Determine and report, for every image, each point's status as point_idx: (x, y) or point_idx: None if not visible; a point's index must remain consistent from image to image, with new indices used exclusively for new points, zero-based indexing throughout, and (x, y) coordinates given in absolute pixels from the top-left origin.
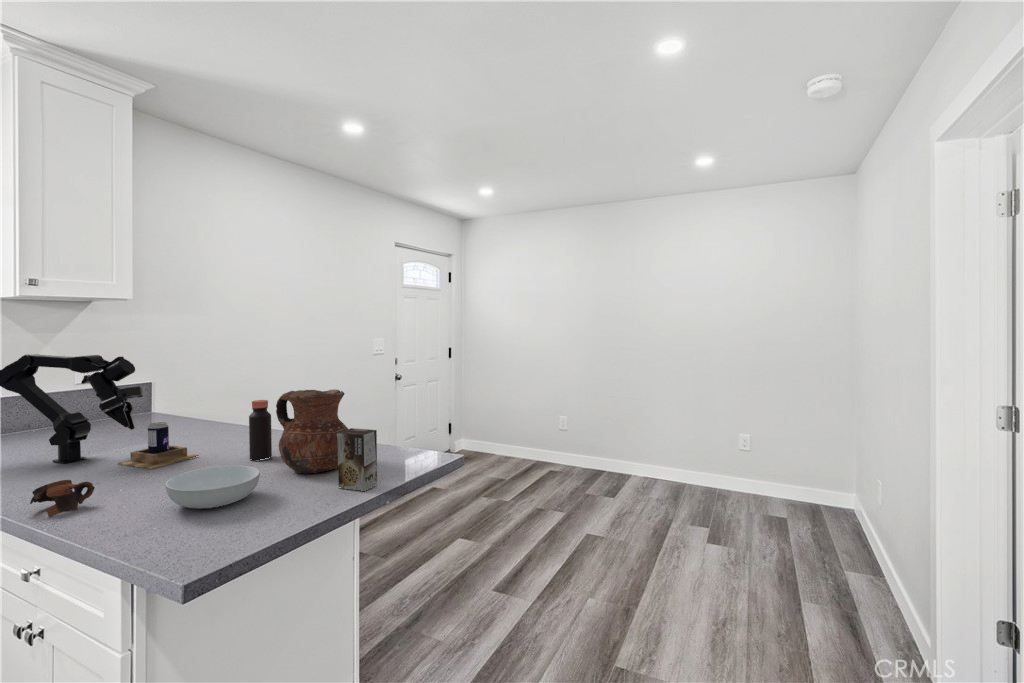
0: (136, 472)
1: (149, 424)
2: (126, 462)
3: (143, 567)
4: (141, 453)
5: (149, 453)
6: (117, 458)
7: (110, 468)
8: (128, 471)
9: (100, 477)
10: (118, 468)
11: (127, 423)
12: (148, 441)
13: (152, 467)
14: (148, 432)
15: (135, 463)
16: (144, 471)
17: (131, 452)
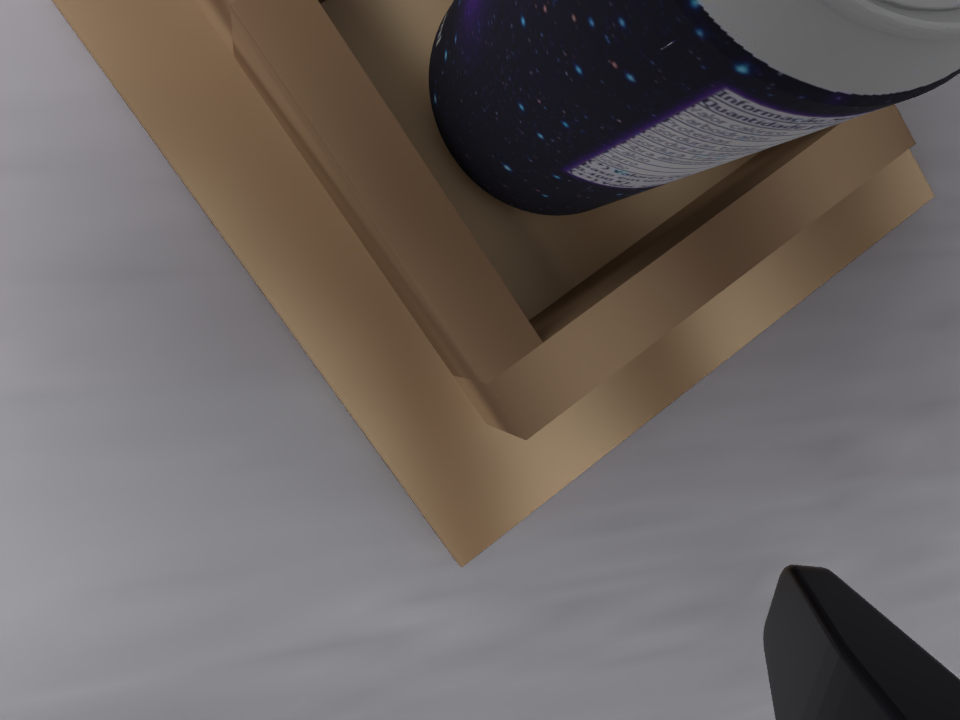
0: (947, 327)
1: (951, 23)
2: (525, 466)
3: None
4: (693, 287)
5: (757, 186)
6: (33, 630)
7: (620, 608)
8: (864, 405)
9: (945, 628)
10: (672, 522)
11: (890, 640)
12: (721, 164)
13: (921, 180)
14: (855, 117)
15: (644, 359)
16: (951, 256)
17: (539, 425)
